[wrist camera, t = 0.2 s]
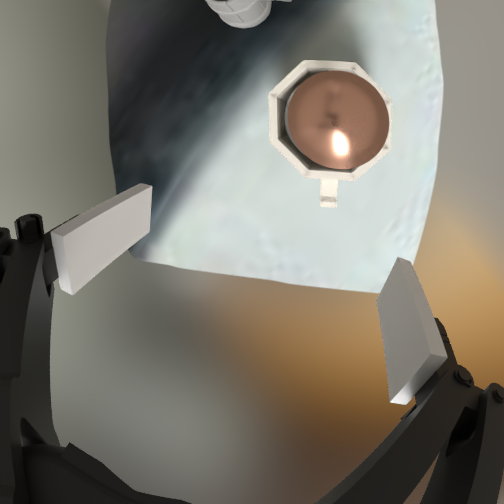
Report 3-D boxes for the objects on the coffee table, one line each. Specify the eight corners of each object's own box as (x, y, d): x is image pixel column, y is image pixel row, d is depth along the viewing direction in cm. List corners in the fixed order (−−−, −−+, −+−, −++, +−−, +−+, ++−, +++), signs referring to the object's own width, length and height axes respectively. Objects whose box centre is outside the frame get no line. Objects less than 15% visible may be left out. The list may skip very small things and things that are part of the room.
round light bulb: (284, 75, 26) (230, 25, 10) (374, 80, 24) (435, 36, 8) (286, 160, 30) (237, 214, 14) (373, 166, 28) (427, 229, 12)
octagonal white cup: (283, 76, 35) (265, 58, 24) (372, 80, 32) (393, 65, 21) (285, 183, 42) (268, 209, 31) (369, 189, 39) (386, 218, 28)
